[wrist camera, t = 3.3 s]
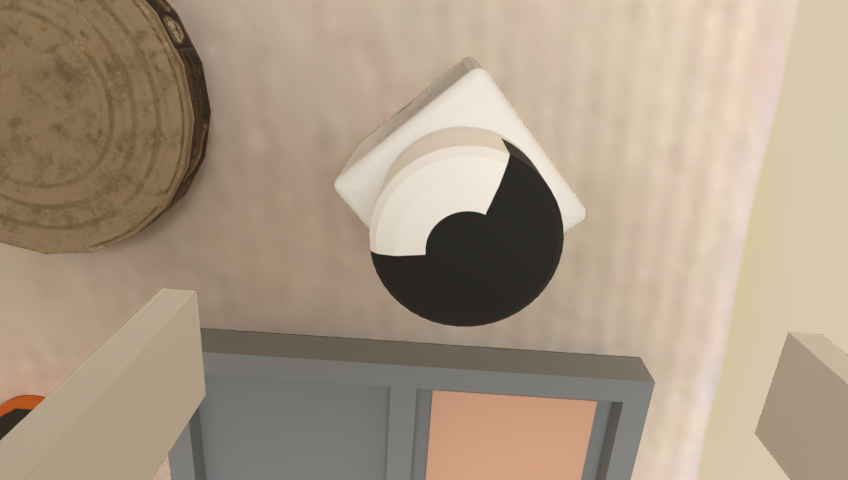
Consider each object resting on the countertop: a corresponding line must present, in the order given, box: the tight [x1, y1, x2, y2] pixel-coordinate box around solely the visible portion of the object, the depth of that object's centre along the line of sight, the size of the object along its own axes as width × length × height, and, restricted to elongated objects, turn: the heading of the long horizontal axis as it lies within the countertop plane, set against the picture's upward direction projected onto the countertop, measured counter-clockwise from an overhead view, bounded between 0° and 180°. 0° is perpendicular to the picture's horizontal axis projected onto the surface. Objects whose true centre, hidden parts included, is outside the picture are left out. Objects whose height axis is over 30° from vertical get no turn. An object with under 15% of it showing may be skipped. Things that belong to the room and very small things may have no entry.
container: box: [334, 57, 586, 326], centre depth 24 cm, size 8×8×13 cm
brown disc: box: [0, 0, 211, 254], centre depth 29 cm, size 16×16×3 cm
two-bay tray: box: [168, 328, 655, 480], centre depth 36 cm, size 28×15×2 cm, turn 86°
